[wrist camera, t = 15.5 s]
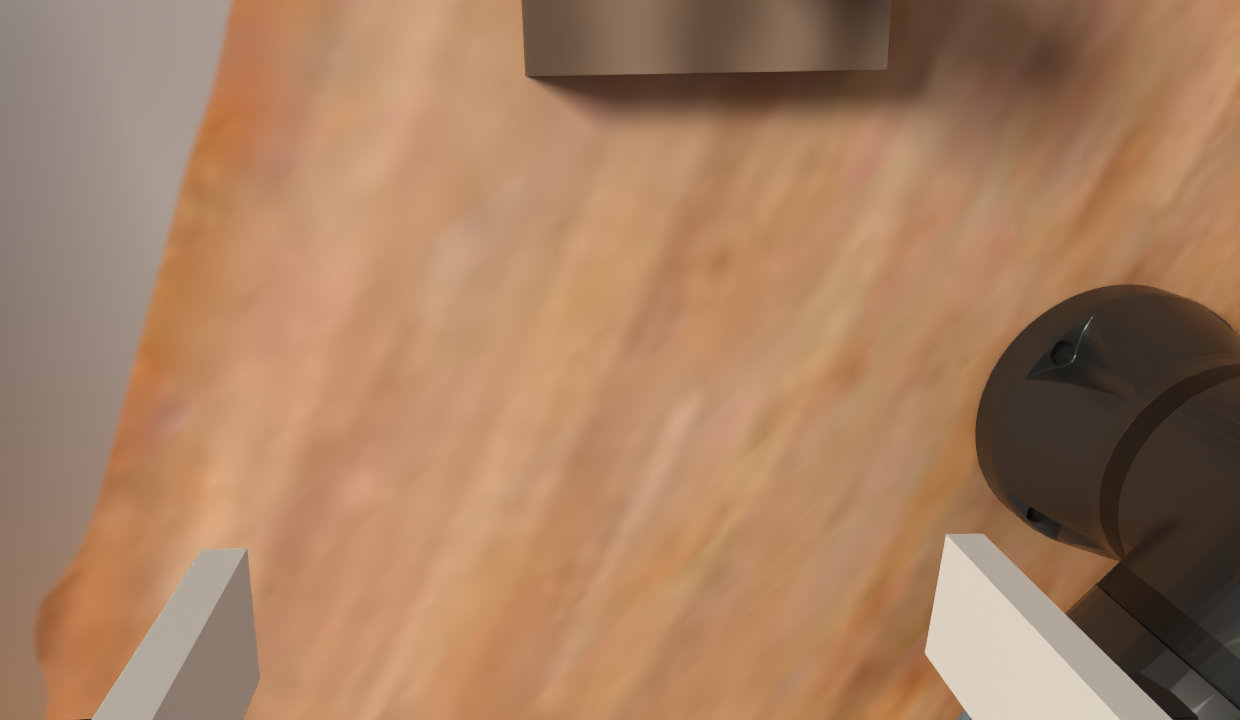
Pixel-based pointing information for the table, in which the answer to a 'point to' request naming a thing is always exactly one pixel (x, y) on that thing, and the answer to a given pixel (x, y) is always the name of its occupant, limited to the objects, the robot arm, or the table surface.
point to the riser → (703, 36)
